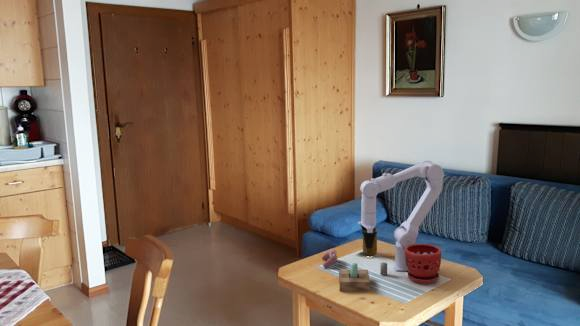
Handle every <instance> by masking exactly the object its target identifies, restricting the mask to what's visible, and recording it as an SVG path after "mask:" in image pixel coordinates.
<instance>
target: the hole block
mask: <svg viewBox="0 0 580 326" xmlns="http://www.w3.org/2000/svg"><path fill="white" fill-rule="evenodd" d="M338 284H339V285H338V286H339V287H338V288H339V292H370V291H371V279H370V274H369V269H358V278H351V271H350V269H339V270H338Z"/></svg>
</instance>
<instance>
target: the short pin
mask: <svg viewBox="0 0 580 326" xmlns="http://www.w3.org/2000/svg"><path fill="white" fill-rule="evenodd" d="M379 268H380V270H379V271H380V274H381V275H382V277H387V276H388V263H387V262H380V267H379ZM381 275H380V276H381Z"/></svg>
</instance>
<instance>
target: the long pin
mask: <svg viewBox="0 0 580 326" xmlns="http://www.w3.org/2000/svg"><path fill="white" fill-rule="evenodd" d="M349 265H350V269H349V270H350V271H351V278H358V270H359V269H358V267H359V266H358V263H356V262H351V263H350V264H349Z"/></svg>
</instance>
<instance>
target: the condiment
mask: <svg viewBox="0 0 580 326" xmlns="http://www.w3.org/2000/svg"><path fill="white" fill-rule="evenodd" d="M373 231H377V227H376V226H375V227H374V228H373ZM355 255H356V256H358V257H361V256H362V258H366V259H369V260H370V259H373V258H374V257H377V256H378V255H381V252H378V233H377V234H376V236H375V238H374V241H373V246H372V248H366V244H365V240H364V235H363V234H362V251H361V252H359V253H356V254H355ZM367 256H369V257H367ZM371 256H373V257H371Z"/></svg>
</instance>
